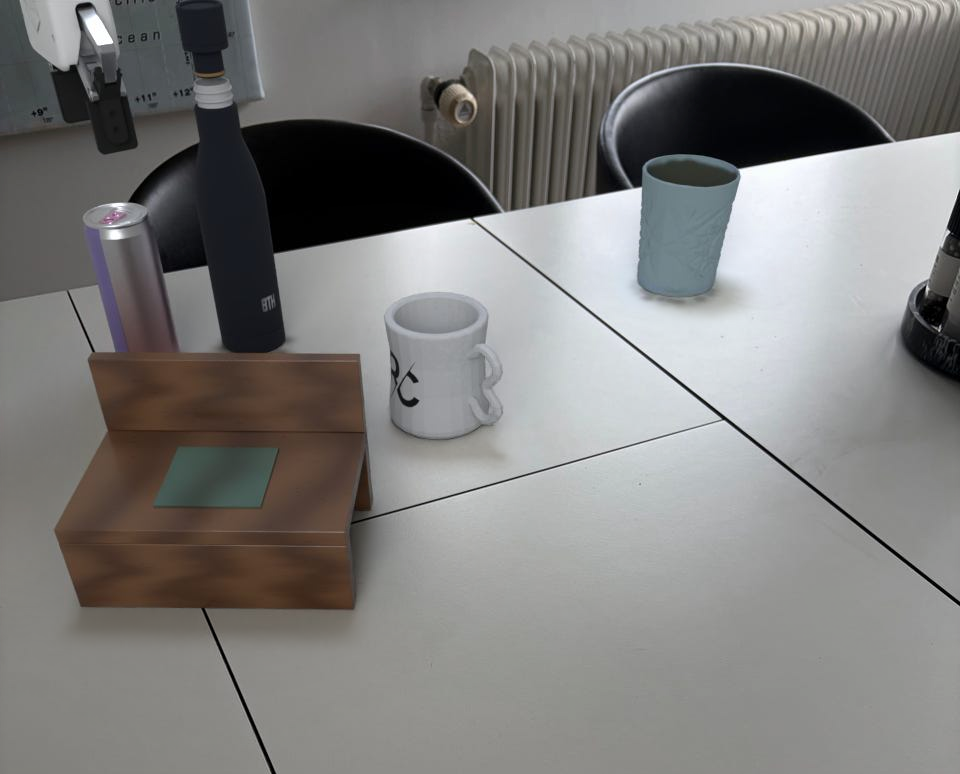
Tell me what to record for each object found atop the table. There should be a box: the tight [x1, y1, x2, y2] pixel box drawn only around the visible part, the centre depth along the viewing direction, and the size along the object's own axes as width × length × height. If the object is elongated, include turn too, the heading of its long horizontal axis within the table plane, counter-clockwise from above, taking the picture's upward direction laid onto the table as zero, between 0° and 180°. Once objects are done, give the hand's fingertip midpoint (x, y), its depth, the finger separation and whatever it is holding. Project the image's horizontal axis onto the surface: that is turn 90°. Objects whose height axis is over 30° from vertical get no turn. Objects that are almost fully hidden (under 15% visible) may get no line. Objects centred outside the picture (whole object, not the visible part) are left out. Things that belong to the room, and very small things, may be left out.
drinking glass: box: [636, 153, 742, 298], centre depth 113 cm, size 10×10×12 cm
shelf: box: [53, 351, 374, 611], centre depth 76 cm, size 20×14×13 cm
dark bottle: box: [174, 0, 286, 353], centre depth 96 cm, size 6×6×30 cm
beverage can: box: [82, 201, 181, 353], centre depth 97 cm, size 6×6×15 cm
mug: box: [383, 291, 504, 440], centre depth 91 cm, size 12×9×10 cm
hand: (100, 134), depth 88 cm, fingers open, 9 cm apart
